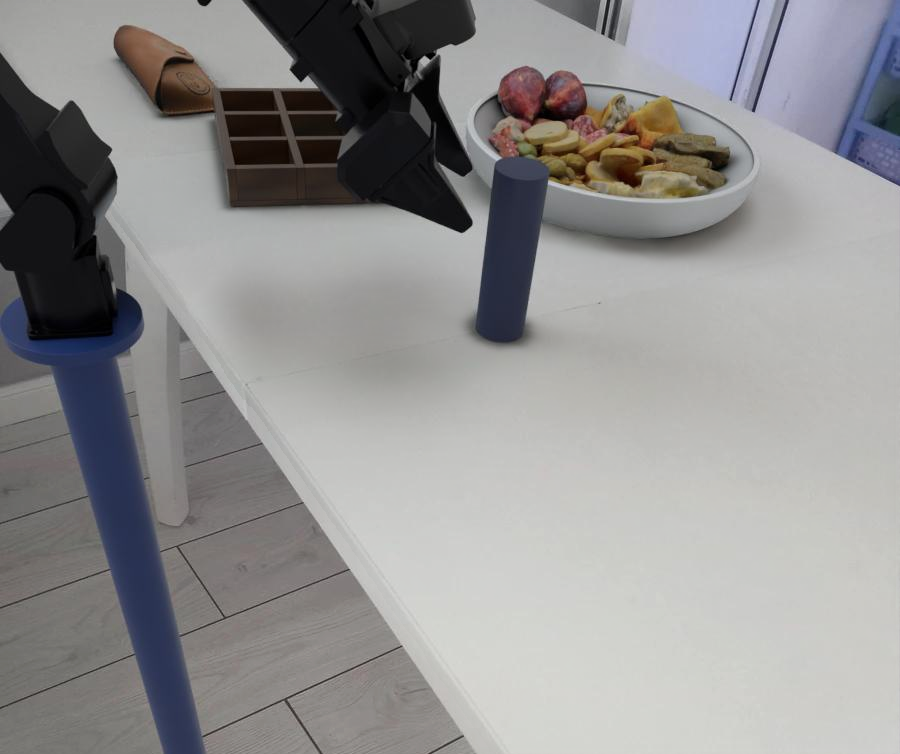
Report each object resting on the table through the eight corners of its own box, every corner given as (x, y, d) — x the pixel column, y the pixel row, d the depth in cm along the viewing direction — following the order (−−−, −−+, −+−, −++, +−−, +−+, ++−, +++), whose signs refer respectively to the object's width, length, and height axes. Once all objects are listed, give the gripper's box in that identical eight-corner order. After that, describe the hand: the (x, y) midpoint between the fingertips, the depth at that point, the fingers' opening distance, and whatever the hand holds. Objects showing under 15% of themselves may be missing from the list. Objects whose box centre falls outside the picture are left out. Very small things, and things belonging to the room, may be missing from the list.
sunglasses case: (233, 104, 98) (196, 48, 93) (184, 144, 99) (144, 91, 93) (184, 49, 108) (148, -4, 103) (139, 86, 109) (101, 35, 103)
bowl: (792, 192, 97) (820, 115, 91) (652, 287, 80) (676, 201, 74) (566, 106, 108) (579, 33, 102) (403, 175, 91) (406, 91, 85)
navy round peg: (482, 343, 72) (503, 180, 62) (469, 317, 74) (488, 156, 64) (529, 340, 73) (557, 179, 63) (515, 314, 75) (540, 155, 65)
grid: (230, 206, 84) (226, 168, 81) (215, 122, 96) (211, 87, 93) (433, 201, 88) (436, 164, 85) (393, 121, 100) (395, 88, 98)
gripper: (396, -50, 46) (567, 182, 55) (412, -123, 59) (550, 76, 68) (257, 99, 52) (433, 289, 61) (299, 3, 64) (439, 172, 73)
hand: (468, 199), depth 65 cm, fingers open, 9 cm apart
